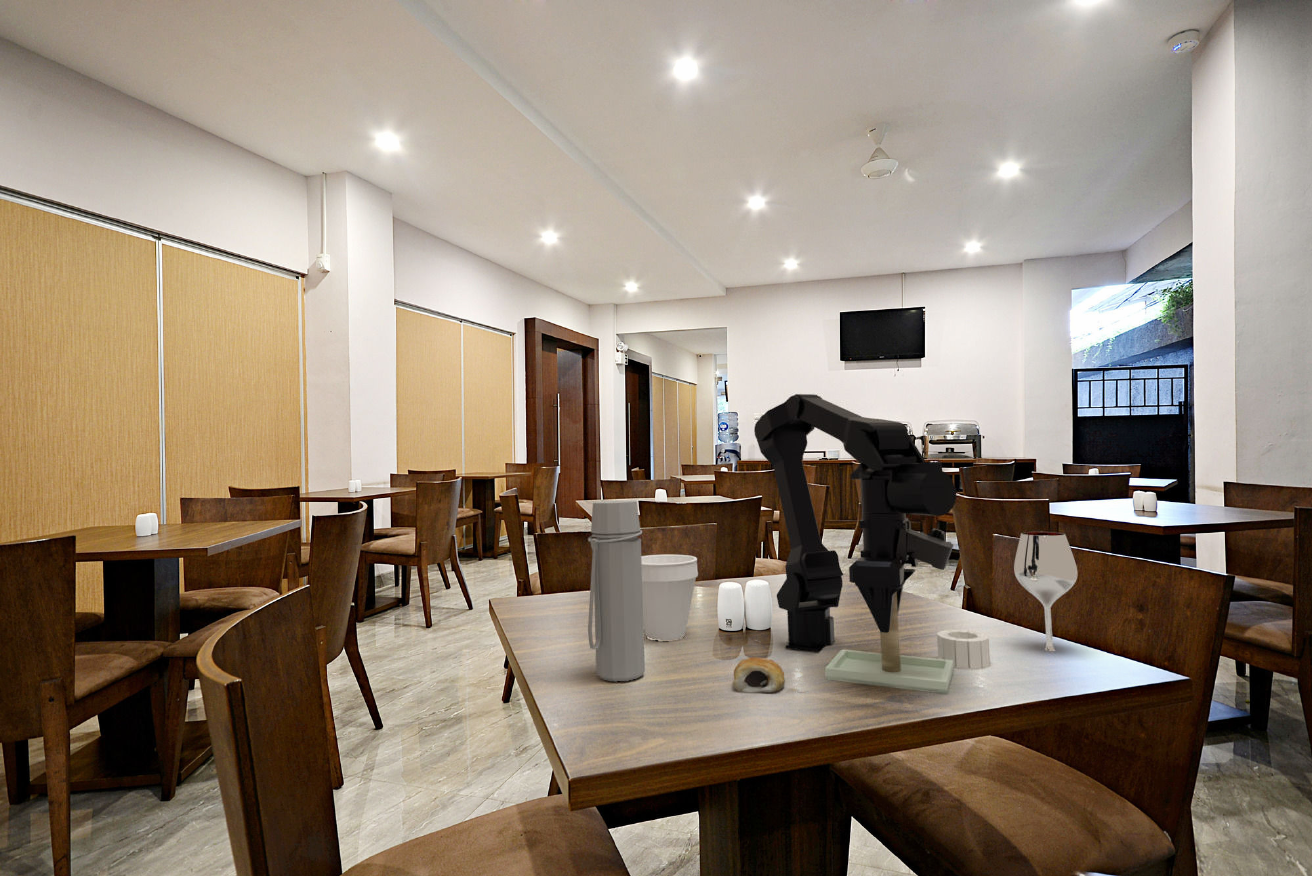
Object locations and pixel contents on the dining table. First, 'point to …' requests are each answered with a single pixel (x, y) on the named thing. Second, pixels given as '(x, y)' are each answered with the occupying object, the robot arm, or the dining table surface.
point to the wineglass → (1045, 570)
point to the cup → (667, 594)
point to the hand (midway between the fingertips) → (888, 626)
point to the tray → (912, 675)
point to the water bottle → (617, 591)
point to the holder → (964, 648)
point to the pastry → (758, 676)
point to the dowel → (891, 643)
